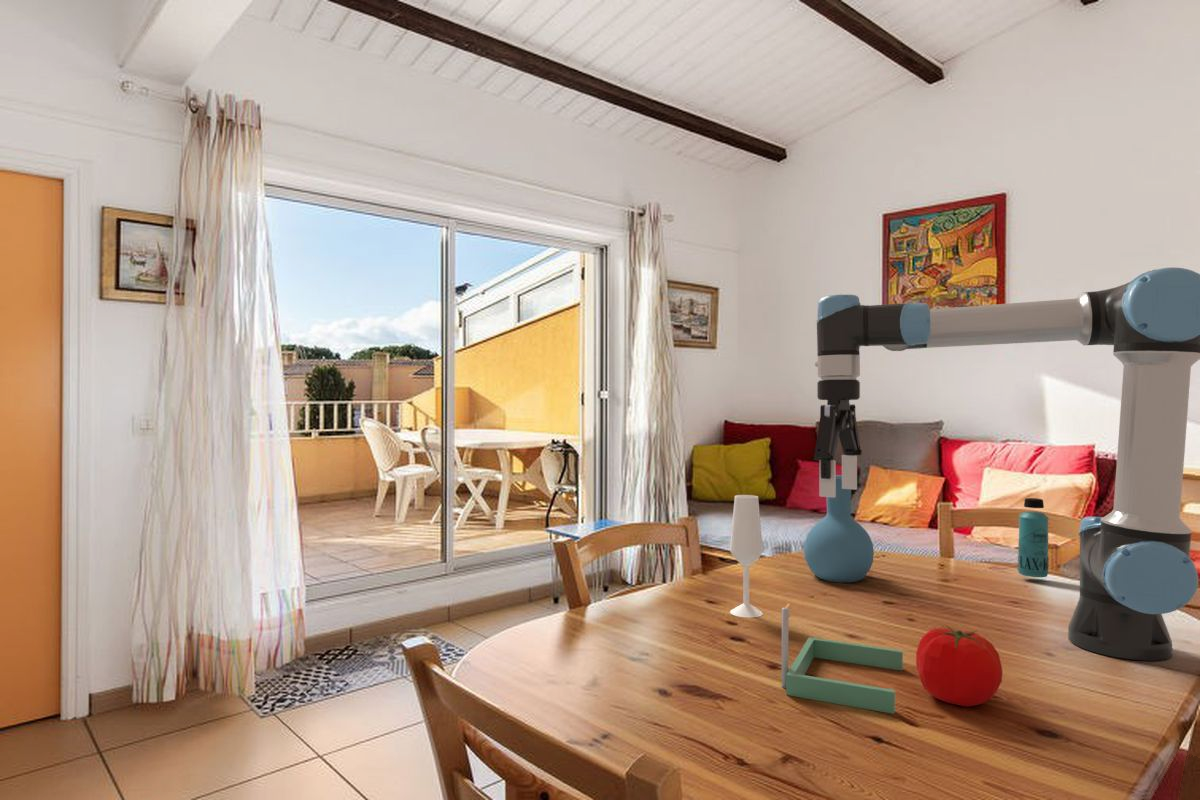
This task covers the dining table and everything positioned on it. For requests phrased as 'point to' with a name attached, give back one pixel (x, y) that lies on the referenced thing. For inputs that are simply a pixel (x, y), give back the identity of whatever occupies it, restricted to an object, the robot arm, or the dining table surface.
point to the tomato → (958, 666)
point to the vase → (839, 542)
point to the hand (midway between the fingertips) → (838, 493)
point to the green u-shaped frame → (835, 689)
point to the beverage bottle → (1033, 541)
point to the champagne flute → (746, 545)
